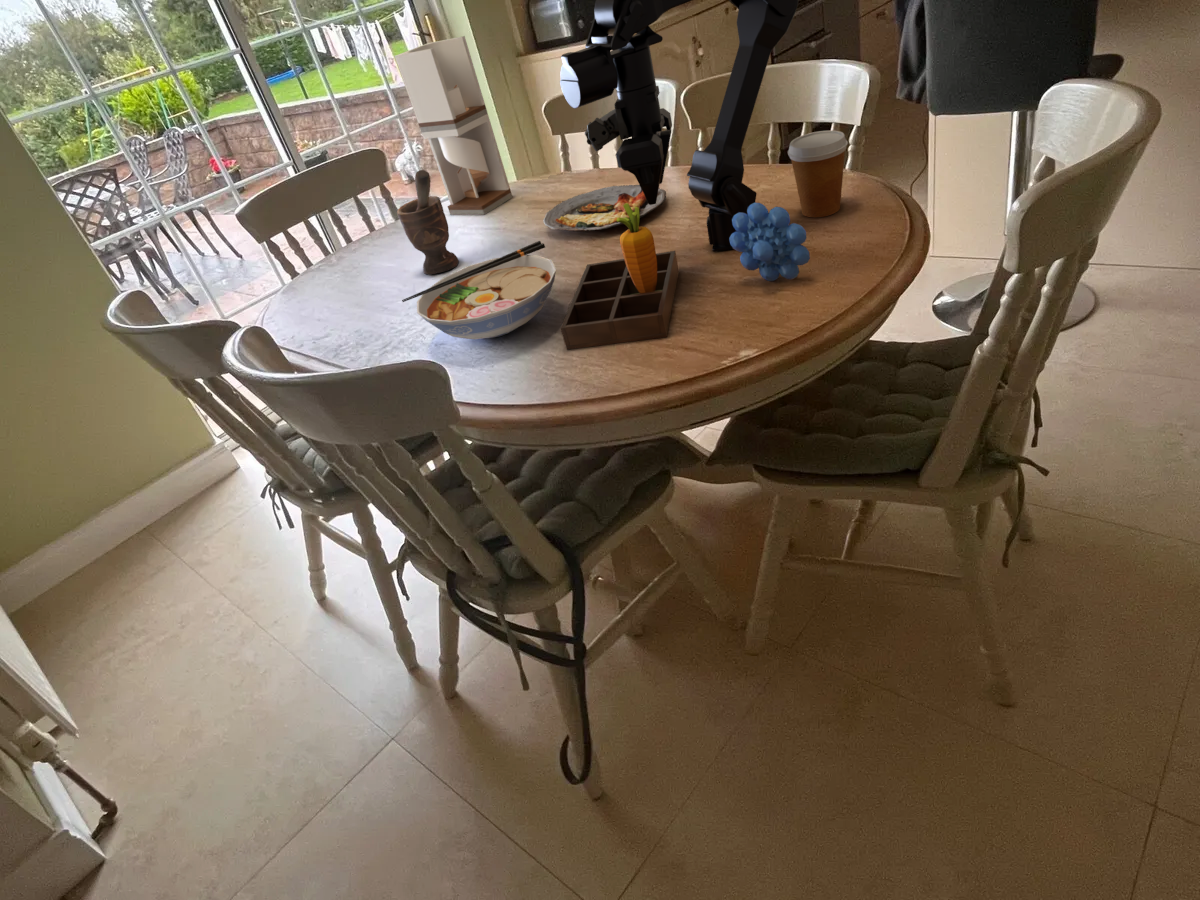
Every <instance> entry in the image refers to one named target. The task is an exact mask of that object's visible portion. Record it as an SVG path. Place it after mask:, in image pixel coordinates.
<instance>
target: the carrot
mask: <svg viewBox="0 0 1200 900" xmlns="http://www.w3.org/2000/svg"><path fill="white" fill-rule="evenodd" d="M623 207H624V209H625V210H626V212H627V214H628V216H629V217H630V219H629V218H628V217H625V218H617V222H620V223H623V224H622V225H625V226H626V227H627V228H628V229H627V230H625V231H624V232H623V233H621V235H620V236H619V244H620V248H621V252H622V255H623V259H624V260H625V263H626V266H627V269H628V271H629V274H630V276H631V278H632V281H633V283H634V285H635V286H636V288H637V289H638V291H639V293H647V292H654V291H655V289H656V283H657V258H656V254H657V252H656V245H655V239H654V236H653V235H654V234H653V233H652V231H651V230H650V229H649V228H648V227H647V226H640V213H639V208H638V207H635V212H633V211H632V209H631V207H630V206H629V204H628V203H625V204H624V205H623ZM630 220H631V221H630Z"/></svg>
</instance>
